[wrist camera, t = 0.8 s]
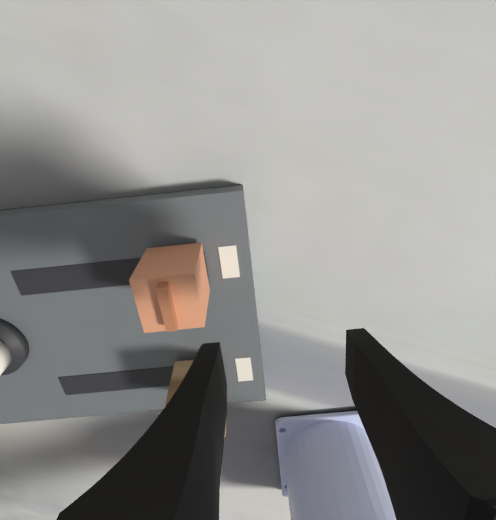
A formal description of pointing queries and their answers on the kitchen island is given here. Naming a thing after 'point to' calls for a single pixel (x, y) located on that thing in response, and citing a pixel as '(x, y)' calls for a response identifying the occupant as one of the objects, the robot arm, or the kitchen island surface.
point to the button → (4, 357)
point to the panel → (118, 303)
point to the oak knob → (179, 378)
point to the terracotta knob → (171, 288)
